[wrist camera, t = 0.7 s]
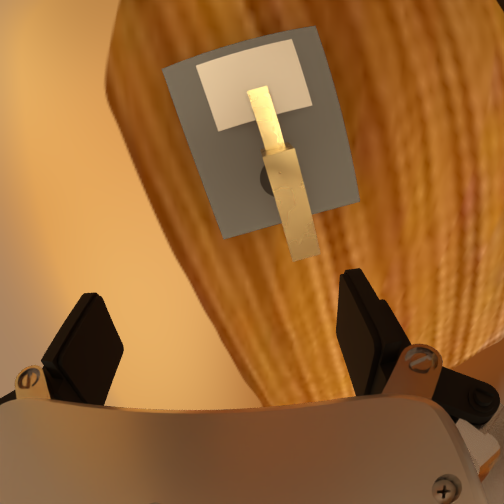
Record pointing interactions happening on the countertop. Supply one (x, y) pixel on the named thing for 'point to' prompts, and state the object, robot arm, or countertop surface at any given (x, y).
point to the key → (285, 179)
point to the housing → (250, 141)
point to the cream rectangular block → (253, 82)
